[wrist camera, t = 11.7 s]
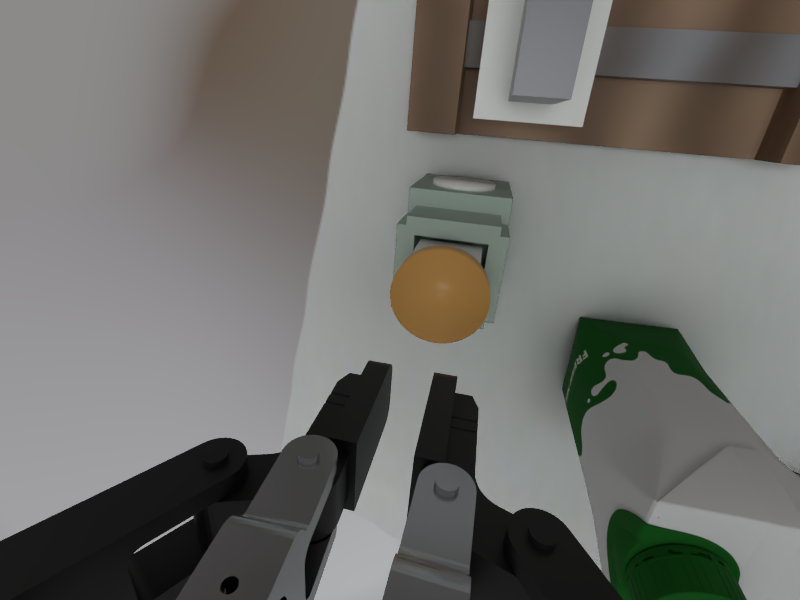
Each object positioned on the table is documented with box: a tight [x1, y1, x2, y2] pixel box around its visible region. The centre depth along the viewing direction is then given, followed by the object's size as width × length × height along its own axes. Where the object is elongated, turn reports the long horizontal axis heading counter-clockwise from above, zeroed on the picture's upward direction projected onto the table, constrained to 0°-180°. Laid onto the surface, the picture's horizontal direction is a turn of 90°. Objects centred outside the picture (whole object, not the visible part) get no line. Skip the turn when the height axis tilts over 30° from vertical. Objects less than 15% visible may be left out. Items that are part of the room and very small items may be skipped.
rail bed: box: [407, 0, 800, 165], centre depth 24 cm, size 24×10×4 cm, turn 85°
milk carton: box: [562, 317, 800, 600], centre depth 24 cm, size 9×9×20 cm
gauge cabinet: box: [391, 174, 513, 329], centre depth 27 cm, size 6×8×10 cm
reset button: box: [390, 239, 490, 343], centre depth 21 cm, size 5×5×4 cm
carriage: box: [473, 0, 613, 127], centre depth 20 cm, size 6×8×8 cm
